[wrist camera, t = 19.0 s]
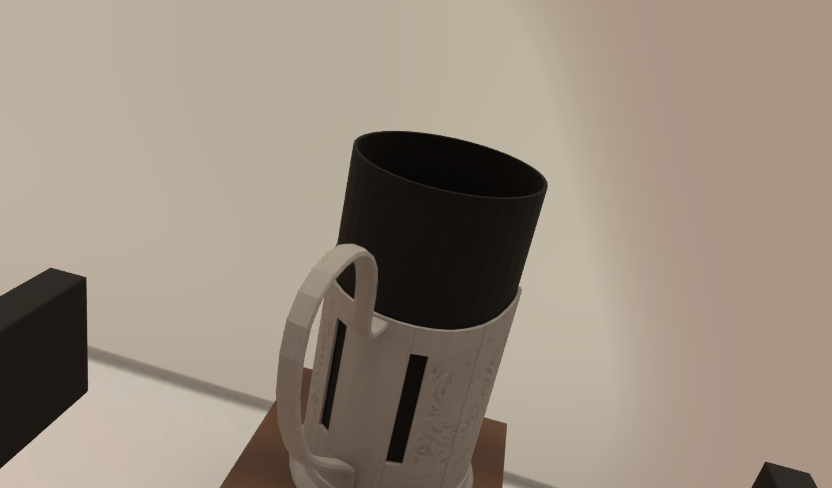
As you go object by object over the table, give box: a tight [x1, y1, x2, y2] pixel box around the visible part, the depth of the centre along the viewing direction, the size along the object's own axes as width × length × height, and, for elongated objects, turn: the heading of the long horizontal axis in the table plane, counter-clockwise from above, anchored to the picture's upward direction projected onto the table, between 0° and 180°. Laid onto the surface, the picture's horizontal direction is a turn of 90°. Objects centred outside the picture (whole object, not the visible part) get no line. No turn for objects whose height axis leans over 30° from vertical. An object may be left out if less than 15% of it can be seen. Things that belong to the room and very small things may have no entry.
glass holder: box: [276, 131, 548, 488], centre depth 25 cm, size 9×14×15 cm, turn 155°
